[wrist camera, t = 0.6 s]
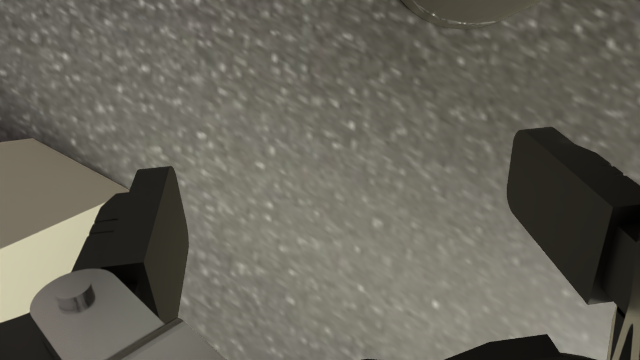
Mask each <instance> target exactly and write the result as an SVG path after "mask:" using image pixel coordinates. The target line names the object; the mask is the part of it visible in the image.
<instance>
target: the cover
mask: <svg viewBox="0 0 640 360" xmlns="http://www.w3.org/2000/svg"><path fill="white" fill-rule="evenodd" d="M129 191H130V190H129V189H127V188H125V187H123V186H121V185H119V184H117V183H115V182H114V181H112V180H110V179H108V178H106V177H104V176H102V175H101V174H99V173H97V172H95V171H93V170H91V169H89V168H87V167H86V166H84V165H82V164H80V163H78V162H76V161H74V160H73V159H71V158H69V157H67V156H65V155H63V154H61V153H59V152H58V151H56V150H54V149H52V148H50V147H48V146H46V145H45V144H43V143H41V142H39V141H37V140H35V139H33V138H30V139H22V140H14V141H6V142H0V323H1V322H4V321H7V320H10V319H13V318H16V317H19V316H22V315H24V314H27V313H29V312H30V305H31V302H32V300H33V298H34V297H35V295H36V294H37V293H38V292H39V291H40V290H41V289H42V288H43V287H44V286H46V285H47V284H48V283H50V282H51V281H53V280H55V279H57V278H58V277H60V276H63V275H65V274H68V273H71V271H72V269H73V266H74V264H75V262H76V260H77V258H78V256H79V253H80V251H81V249H82V247H83V245H84V242H85V240H86V238H87V236H89V232H90V229H91V227H92V225H93V224H94V221H95V218H96V216H97V214H98V212H99V210H100V208H101V206H102V205H104V204H105V203H106V202H107V201H108V200H109V199H110V198H111V197H113V196H114V195H115V194H116V193H125V192H129Z"/></svg>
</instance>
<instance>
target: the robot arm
mask: <svg viewBox="0 0 640 360" xmlns="http://www.w3.org/2000/svg"><path fill="white" fill-rule="evenodd" d="M401 1H402V2H403V3H404V4H405V5H406V6H407V7H408V8H409V9H410V10H411V11H412V12H413V13H415V14H417V15H418V16H420V17H421V18H423V19H424V20H426V21H428V22H431V23H433V24H436V25H439V26H442V27H446V28H454V29H473V28H480V27H484V26H487V25H490V24H494V23H497V22H499V21H501V20H503V19H505V18H507V17H509V16H511V15H513V14H515V13H518V12H520V11H522V10H524V9H527V8H529V7H531V6H533V5H535V4H537V3H539V2H541V1H543V0H401ZM507 200H508V204H509V207H510V209H511V211H512V213H513V214H514V216H515V217H516V218H517V219H518V220H519V222H520V223H521V224H522V225H523V227H524V228H525V229H526V230H527V231H528V233H529V234H530V235H531V236H532V237H533V239H534V240H535V241H536V242H537V244H538V245H539V246H540V247H541V248H542V250H543V251H544V252H545V253H546V255H547V256H548V257H549V258H550V259H551V261H552V262H553V263H554V264H555V265H556V267H557V268H558V269H559V270H560V272H561V273H562V274H563V275H564V276H565V278H566V279H567V280H568V281H569V283H570V284H571V285H572V286H573V287H574V289H575V290H576V291H577V292H578V294H579V295H580V296H581V297H582V298H583V300H584V301H585V302H586V303H587V304H588V305H590V304H597V303H605V302H612V301H614V303H615V304H616V309H615V312H614V315H613V319H612V325H611V333H610V340H609V347H608V354H607V360H640V186H639V185H638V184H637V183H636V182H634V181H633V180H632V179H630V178H629V177H628V176H623V173H622V172H621V171H620V170H618V169H617V168H616V167H614V166H613V167H611V164H610V163H609V162H608V161H606V160H605V159H604V158H602V157H601V156H600V155H598V154H597V153H595V152H593V151H590V150H588V149H585V148H583V147H581V146H578V145H576V144H574V143H573V142H571V141H570V140H569V139H568V138H566V137H565V136H564V135H562V134H561V133H560V132H559V131H557V130H556V129H555V128H553V127H544V128H535V129H525V130H519V131H518V132H517V133H516V135H515V137H514V141H513V147H512V154H511V162H510V169H509V176H508V183H507ZM188 247H189V241H188V229H187V223H186V219H185V214H184V210H183V205H182V200H181V196H180V191H179V187H178V182H177V178H176V174H175V171H174V168H173V167H172V166H168V167H158V168H149V169H139V170H138V171H137V173H136V175H135V178H134V180H133V183H132V185H131V188H130V191H129V192H125V193H116V194H115V195H114V196H113V197H111V198H110V199H109V200H108V201H107V202H106V203H105V204H104V205H102V206H101V208H100V210H99V212H98V214H97V216H96V218H95V221H94V224H93V225H92V227H91V229H90V232H89V236H87V238H86V240H85V242H84V245H83V247H82V249H81V251H80V253H79V256H78V258H77V260H76V262H75V264H74V266H73V269H72V271H71V273H68V274H65V275H63V276H60V277H58V278H57V279H55V280H53V281H51V282H50V283H48V284H47V285H46V286H44V287H43V288H42V289H41V290H40V291H39V292H38V293H37V294H36V295H35V297H34V298H33V300H32V302H31V305H30V312H29V313H27V314H24V315H22V316H19V317H16V318H13V319H10V320H7V321H4V322H1V323H0V360H226V359H225V358H224V357H223V356H222V355H221V354H219V353H218V352H217V351H216V350H215V349H214V348H213V347H212V346H211V345H210V344H209V343H208V342H207V341H205V340H204V339H203V338H202V337H201V336H200V335H199V334H198V333H197V332H196V331H195V330H194V329H192V328H191V327H190V326H189V325H188V324H187V323H186V322H185V321H183V320H182V319H180V318H178V312H179V305H180V299H181V293H182V287H183V280H184V274H185V268H186V262H187V255H188ZM363 360H375V359H363ZM445 360H596V359H592V358H588V357H584V356H579V355H573V354H567V353H560V352H559V351H558V349H557V348H556V346H555V345H554V343H553V342H552V340H551V339H550V337H549V336H548V335H547V334H544V335H537V336H530V337H523V338H515V339H508V340H501V341H494V342H489V343H486V344H483V345H481V346H478V347H476V348H473V349H471V350H468V351H465V352H463V353H460V354H458V355H455V356H453V357H450V358H448V359H445Z"/></svg>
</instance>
